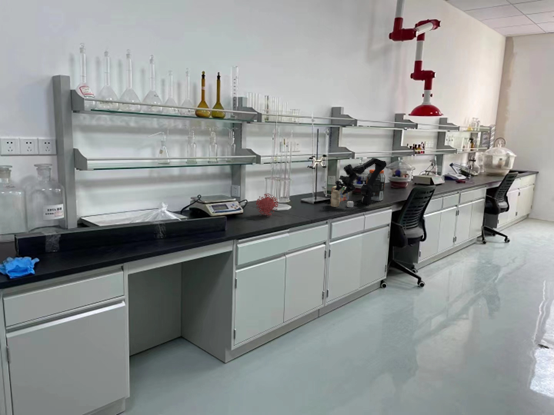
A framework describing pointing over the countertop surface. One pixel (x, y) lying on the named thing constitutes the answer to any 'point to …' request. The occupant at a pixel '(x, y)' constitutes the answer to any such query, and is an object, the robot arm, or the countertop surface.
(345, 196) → the stack of blocks
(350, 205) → the grey cube
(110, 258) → the countertop surface
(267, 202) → the virus model
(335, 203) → the beech block
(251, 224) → the countertop surface
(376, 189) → the supplement tub
